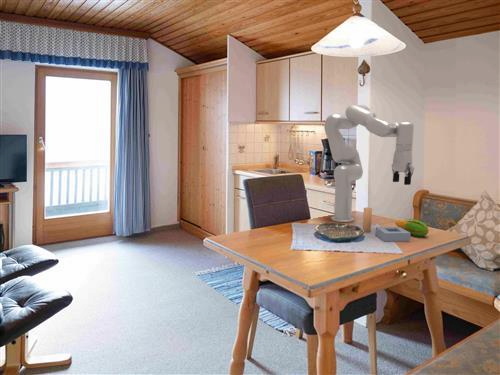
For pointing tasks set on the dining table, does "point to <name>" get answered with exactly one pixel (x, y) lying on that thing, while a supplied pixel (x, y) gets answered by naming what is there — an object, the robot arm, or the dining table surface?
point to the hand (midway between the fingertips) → (401, 183)
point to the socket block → (393, 234)
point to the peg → (367, 219)
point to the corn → (414, 227)
